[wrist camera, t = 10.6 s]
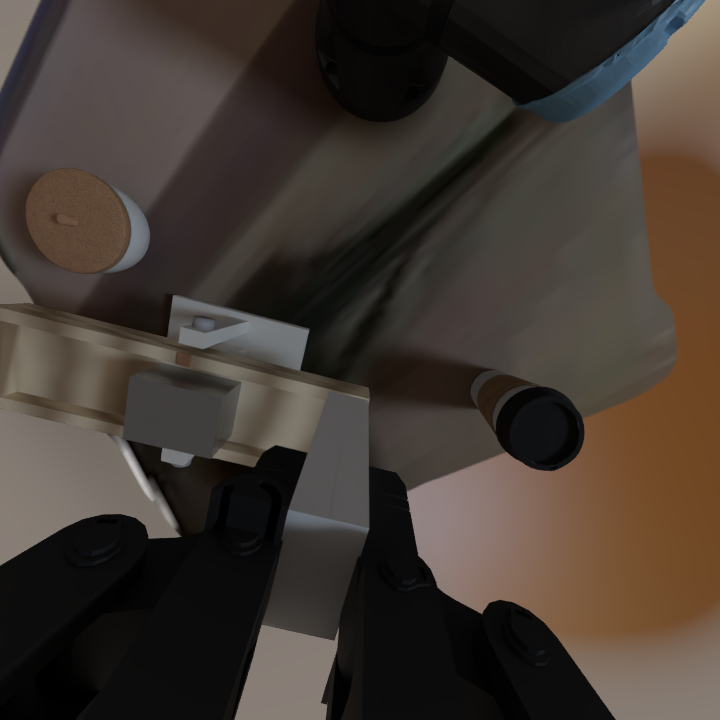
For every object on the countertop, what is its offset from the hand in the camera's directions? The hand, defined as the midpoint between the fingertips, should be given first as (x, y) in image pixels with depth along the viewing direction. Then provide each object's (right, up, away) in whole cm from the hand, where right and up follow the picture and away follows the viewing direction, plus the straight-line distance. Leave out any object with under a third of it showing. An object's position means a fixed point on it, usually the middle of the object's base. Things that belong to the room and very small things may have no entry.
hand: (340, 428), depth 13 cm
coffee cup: (+19, -2, +35) cm, 40 cm away
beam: (-17, -1, +23) cm, 28 cm away
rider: (-16, -2, +22) cm, 27 cm away
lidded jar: (-30, +19, +31) cm, 47 cm away
